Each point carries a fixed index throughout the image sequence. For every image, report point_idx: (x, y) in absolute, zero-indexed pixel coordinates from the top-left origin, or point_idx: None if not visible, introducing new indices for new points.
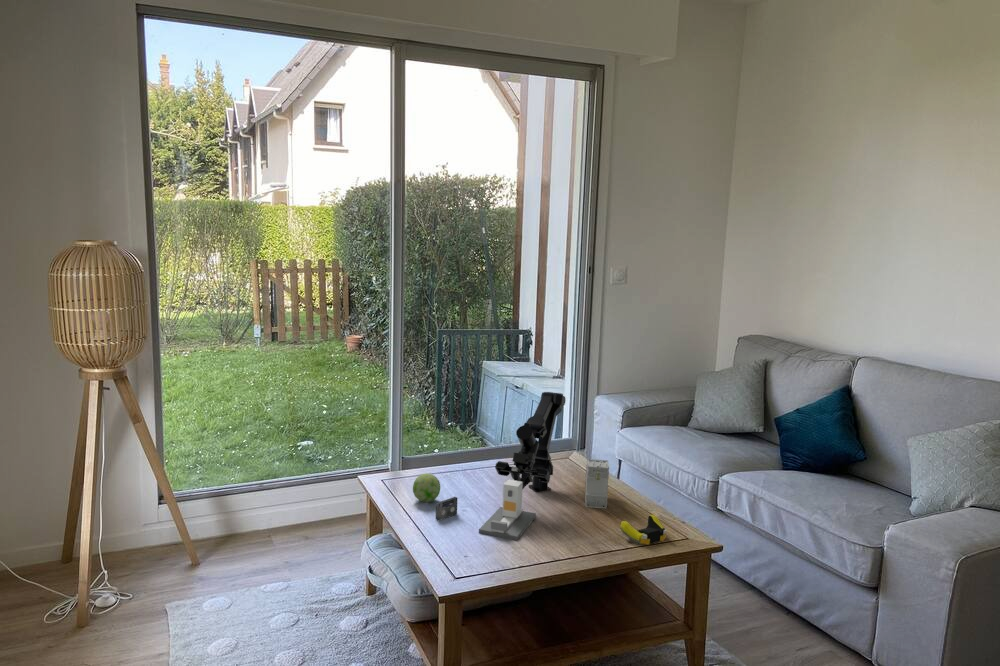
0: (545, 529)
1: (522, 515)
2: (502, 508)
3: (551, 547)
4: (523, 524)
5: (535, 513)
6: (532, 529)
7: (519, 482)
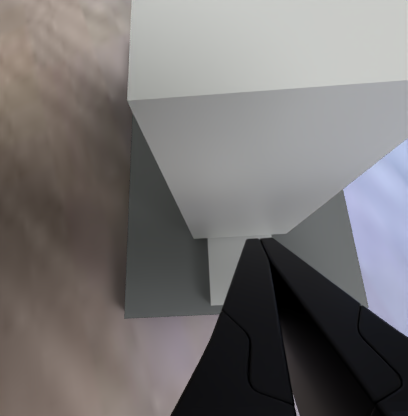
0: (50, 187)
1: (188, 245)
2: (342, 288)
3: (4, 58)
4: (147, 146)
5: (126, 313)
6: (108, 160)
7: (175, 32)
